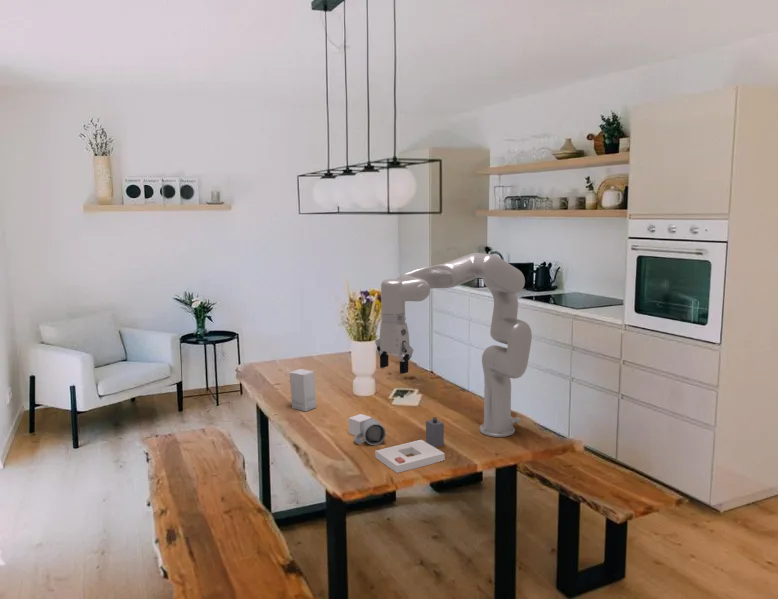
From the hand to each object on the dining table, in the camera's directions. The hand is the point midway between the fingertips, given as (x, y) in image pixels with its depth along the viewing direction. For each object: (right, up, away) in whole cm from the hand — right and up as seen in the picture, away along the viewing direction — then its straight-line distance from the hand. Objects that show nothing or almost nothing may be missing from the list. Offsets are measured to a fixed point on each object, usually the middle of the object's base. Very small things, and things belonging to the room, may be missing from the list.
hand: (394, 369), depth 206 cm
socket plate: (+5, -30, +3) cm, 30 cm away
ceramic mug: (-8, -28, +18) cm, 34 cm away
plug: (+14, -27, +15) cm, 34 cm away
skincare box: (-37, -22, +54) cm, 69 cm away
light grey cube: (-12, -26, +26) cm, 39 cm away
